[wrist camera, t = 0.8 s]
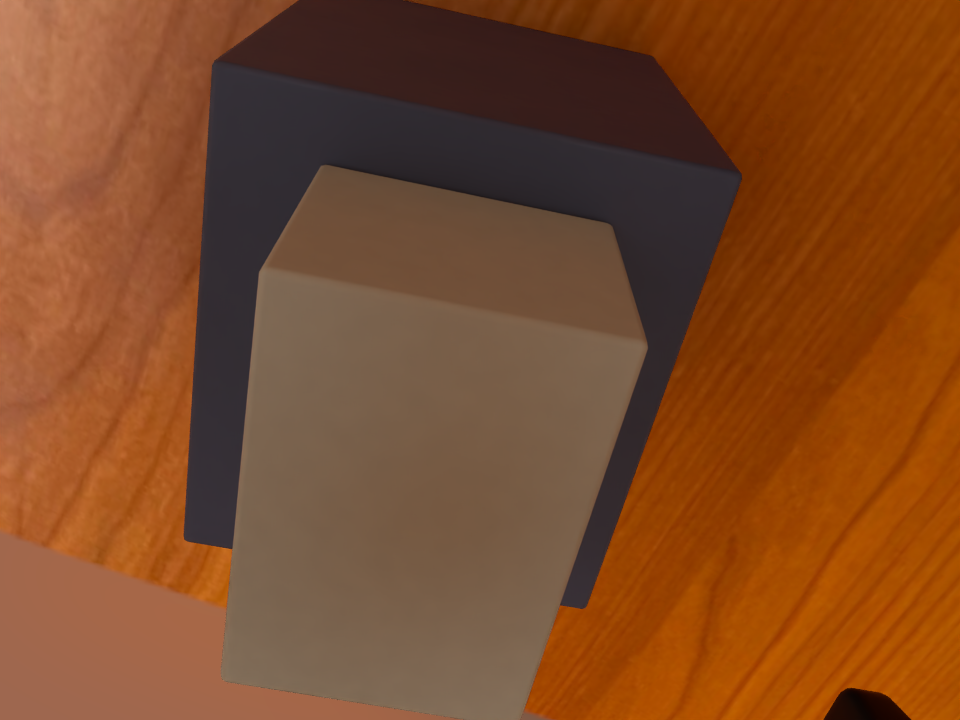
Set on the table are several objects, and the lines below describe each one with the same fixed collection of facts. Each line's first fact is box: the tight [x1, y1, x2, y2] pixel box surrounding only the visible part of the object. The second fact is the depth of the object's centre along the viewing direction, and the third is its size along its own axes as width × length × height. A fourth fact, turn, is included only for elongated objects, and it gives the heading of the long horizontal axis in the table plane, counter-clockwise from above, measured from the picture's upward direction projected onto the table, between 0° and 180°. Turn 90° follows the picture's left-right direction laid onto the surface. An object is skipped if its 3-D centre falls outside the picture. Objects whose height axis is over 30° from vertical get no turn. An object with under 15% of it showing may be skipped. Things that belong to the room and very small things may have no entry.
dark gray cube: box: [184, 0, 742, 609], centre depth 17 cm, size 8×7×8 cm
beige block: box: [221, 165, 648, 720], centre depth 12 cm, size 6×4×4 cm, turn 168°
